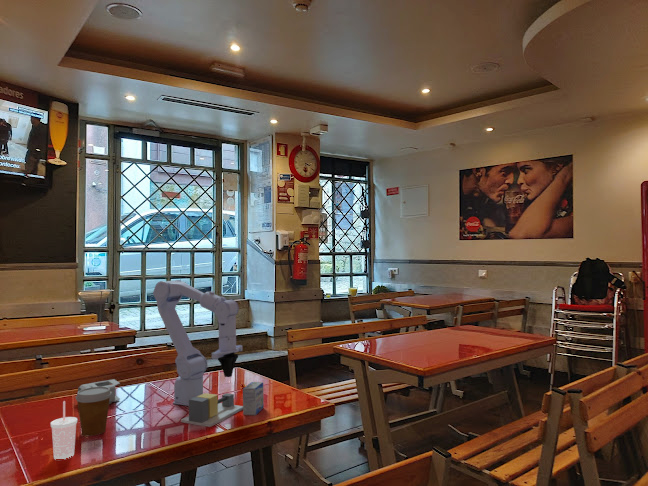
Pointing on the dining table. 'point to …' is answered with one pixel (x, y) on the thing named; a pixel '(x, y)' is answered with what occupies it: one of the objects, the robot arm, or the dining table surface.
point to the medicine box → (253, 398)
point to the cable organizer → (104, 384)
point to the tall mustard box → (211, 403)
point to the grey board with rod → (200, 410)
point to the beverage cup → (63, 436)
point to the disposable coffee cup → (93, 409)
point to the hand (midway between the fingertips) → (228, 376)
